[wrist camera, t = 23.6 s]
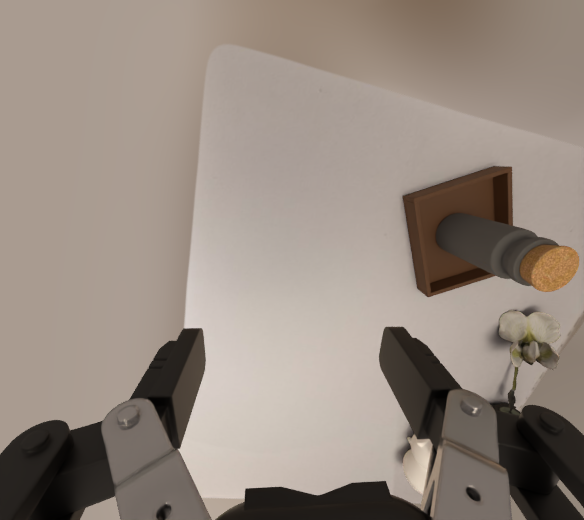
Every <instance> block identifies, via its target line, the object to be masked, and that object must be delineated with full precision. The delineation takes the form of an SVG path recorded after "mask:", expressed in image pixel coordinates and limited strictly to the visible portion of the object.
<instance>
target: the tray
mask: <svg viewBox="0 0 584 520" xmlns="http://www.w3.org/2000/svg"><path fill="white" fill-rule="evenodd" d="M403 200H404V207H405V213H406V219H407V225H408V232H409V238H410V244H411V251H412V257H413V263H414V269H415V276H416V282H417V288H418V289H419V290H420V291H421V292H422V293H423V294H425V295H426V296H427V297H430V296H433V295H437V294H440V293H443V292H446V291H449V290H452V289H455V288H459V287H462V286H465V285H468V284H471V283H474V282H477V281H481V280H484V279H487V278H490V277H493V276H496V275H494V274H491V273H489V272H487V271H485V270H483V269H481V268H479V267H477V266H475V265H473V264H471V263H469V262H467V261H465V260H463V259H461V258H459V257H457V256H455V255H453V254H451V253H449V252H447V251H445V250H443V249H442V248H440V247H439V245H438V244H437V241H436V231H437V228H438V226H439V224H440V223H441V222H442V221H443V220H444V219H445V218H446V217H448V216H449V215H451V214H455V213H464V214H468V215H472V216H476V217H480V218H484V219H488V220H492V221H496V222H500V223H504V224H508V225H511V226H513V209H512V167H499V166H493V167H490V168H487V169H484V170H481V171H478V172H475V173H472V174H469V175H466V176H463V177H460V178H457V179H454V180H451V181H448V182H444V183H441V184H438V185H435V186H432V187H429V188H426V189H423V190H420V191H417V192H414V193H411V194H408V195H405V196H403Z"/></svg>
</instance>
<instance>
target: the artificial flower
mask: <svg viewBox="0 0 584 520" xmlns="http://www.w3.org/2000/svg"><path fill="white" fill-rule="evenodd" d="M509 311H511V312H507V313H504V314H503V315H502V316H501V318H500V320H499V325H500V329H499V335H500V337H501V338H503V339H505V340H508V341H511V342H514V343H513V344H512V346H511V347H510V357H511V360H512V363H513V365H514V366H515V373H514V381H513V388H512V390H510V392H509V393H508V399H509V400H508V401H509V404H507V403H501V404H496V405H495V404H494V405H492V407H493V408H494V410H498V411H502V412H507V413H511V414H515V415H520V414H521V413H520V412H519V411H518V410H516V409H515V408H516V407H515V406H514V403H515V401H516V400H515V396H514V390H516V377H517V374H518V373H517V372H518V367H519V366H520V365H521V363H522V361H523V360H524V361H525V362H527V363H528V364H530V365H532V364H533V362H535V361H537V362H539V363H540V364H542V365H543V366H544V367H546V368H549V369H552V370H553V369H555V368H556V367H557V365H558V360H559V355H558V354H557V352H556V351H555V350H554V348H553V347H551V346H550V345H549V344H550V343H553V342H556V341H557V340H558V339H559V338H560V334H559V328H560V324H559V323H558V322H557V321H556V320H555V319H554V318H553V316H551V315H548V314H545V313H542V312H534V313H532V314H530V315H529V316H528V317H526V316H525V315H524V314H522V313H521V312H520V311H514V310H509Z"/></svg>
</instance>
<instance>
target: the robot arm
mask: <svg viewBox="0 0 584 520" xmlns="http://www.w3.org/2000/svg"><path fill="white" fill-rule="evenodd" d="M205 362H206V358H205V347H204V336H203V330H202V328H191V329H183V330H182V332H181V334H180V335H179V337H178V339H177V341H169V342H167V343H166V344H165V345H164V346H163V347H161V348H160V349H159V351H158V352H157V354H156V356H155V358H154V360H153V361H152V362H151V364H150V366H149V369H147V371H146V372H145V374H144V376H143V377H142V379H141V381H140V383H139V384H138V386H137V388H136V389H135V391H134V393H133V394H132V396H131V398H130V399H129V400H128V401H125V402H123V403H121V404H119V405H118V406H116V407H115V408H113V409H112V410H111V411H110V412H109V413H108V414H107V416H106V417H105V419H104V420H103V421H101V422H98V423H95V424H91V425H88V426H85V427H81V428H78V429H74V430H71V431H70V429H69V427H68V425H67V423H66V422H64V421H60V420H52V421H47V422H43V423H41V424H38V425H36V426H33V427H31V428H30V429H28V430H26V431H25V432H23V433H22V434H20V435H19V436H18V437H16V438H15V439H14V440H13V441H12V442H11V443H10V444H9V445H8V446H7V447H6V448H5V450H4V451H3V452H2V453H1V454H0V520H80V518H81V516H82V514H83V512H84V510H85V508H86V507H88V506H91V505H93V504H96V503H99V502H101V501H104V500H106V499H109V498H111V497H114V496H115V497H116V501H117V506H118V510H119V514H120V519H121V520H212V519H211V517H210V515H209V513H208V511H207V509H206V507H205V505H204V502H203V500H202V498H201V496H200V494H199V492H198V490H197V488H196V486H195V483H194V481H193V479H192V477H191V475H190V473H189V471H188V469H187V467H186V464H185V462H184V460H183V458H182V456H181V454H180V452H179V450H178V449H180V447H181V443H182V440H183V437H184V434H185V431H186V428H187V425H188V422H189V418H190V415H191V412H192V409H193V406H194V403H195V400H196V396H197V393H198V390H199V387H200V384H201V381H202V378H203V374H204V371H205ZM379 362H380V367H381V370H382V372H383V374H384V376H385V378H386V379H387V381H388V383H389V385H390V387H391V389H392V391H393V393H394V395H395V397H396V399H397V401H398V403H399V405H400V407H401V409H402V411H403V413H404V414H405V416H406V418H407V420H408V422H409V424H410V426H411V428H412V430H413V432H414V434H415V436H416V438H417V439H430V441H431V443H432V444H433V445H432V448H431V452H430V458H429V463H428V469H427V475H426V480H425V486H424V491H423V497H422V502H421V506H420V509H419V508H418V507H416V506H415V505H413V504H412V503H410V502H408V501H406V500H404V499H402V498H399V497H396V496H394V495H390V492H389V489H388V486H387V484H386V481H379V482H360V483H351V484H348V485H346V486H343V487H341V488H338V489H335V490H333V491H330V492H328V493H325V494H322V495H312V494H308V493H304V492H300V491H296V490H292V489H288V488H284V487H268V488H250V489H246V490H245V502H243V503H241V504H238V505H236V506H234V507H232V508H230V509H229V510H227V511H226V512H224V513H223V514H222V515H220V516H219V517H218V518H217V519H216V520H512V514H511V502H510V495H511V497H512V498H513V499H514V501H515V503H516V504H517V506H518V507H519V509H520V510H521V512H522V513H523V515H524V516H525V518H526V519H527V520H584V518H583V517H582V515H581V514H580V513H579V512H578V511H577V509H576V508H575V507H574V506H573V504H572V503H571V502H570V501H569V499H568V498H567V497H566V496H565V495H564V493H563V492H562V491H561V490H560V488H559V487H558V486H557V483H558V481H559V479H560V480H561V481H562V482H563V483H564V485H565V486H566V487H567V488H568V489H569V491H570V492H571V493H572V494H573V495H574V496H575V498H576V499H577V500H578V501H579V502H580V503H581V505H582V506H583V508H584V435H583V434H582V433H581V432H580V431H579V430H577V428H575V427H574V426H573V425H572V424H571V423H570V422H569V421H568V420H566V419H565V418H564V417H562V416H560V415H559V414H557V413H555V412H553V411H551V410H549V409H547V408H544V407H540V406H536V405H528V406H525V407H524V408H523V409H522V412H521V414H520V415H515V414H511V413H507V412H502V411H498V410H494V408H493V407H492V406H491V405H490V403H488V402H487V401H486V400H485V399H484V398H482V397H481V396H479V395H477V394H476V393H473V392H471V391H468V390H464V389H462V388H461V387H460V385H459V384H458V383H457V382H456V381H455V379H454V378H453V377H452V376H451V374H450V373H449V372H448V371H447V370H446V368H445V367H444V366H443V365H442V363H441V364H440V361H439V360H438V359H437V357H436V356H434V354H433V353H432V351H431V350H430V349H429V348H428V346H427V345H425V344H424V343H422V342H421V341H420V340H418V339H417V338H412V337H411V336H410V334H409V333H408V332H407V330H406V329H405V328H404V327H385V329H384V331H383V337H382V342H381V348H380V354H379Z"/></svg>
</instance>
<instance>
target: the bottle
mask: <svg viewBox="0 0 584 520" xmlns="http://www.w3.org/2000/svg"><path fill="white" fill-rule="evenodd" d="M436 241H437V244H438V245H439V247H440V248H442V249H443V250H445V251H447V252H449V253H451V254H453V255H455V256H457V257H459V258H461V259H463V260H465V261H467V262H469V263H471V264H473V265H475V266H477V267H479V268H481V269H483V270H485V271H487V272H489V273H491V274H494V275H496V276H498V277H500V278H505V279H510V278H511V279H513V280H514V281H516V282H518V283H520V284H522V285H526V286H531V285H532V286H533V287H534V288H536V289H537V290H539V291H543V292H551V291H555V290H557V289H559V288H561V287H563V286H564V285H566V284H567V283H568V282H569V281H570V280H571V279H572V278H573V276H574V275H575V273H576V271H577V269H578V266H579V256H578V254H577V252H576V251H575V250H574V249H572V248H570V247H567V246H559V245H558V244H557V243H556V242H555V241H553V240H550V239H547V238H542V237H537V235H536V234H535V233H533V232H532V231H529V230H526V229H523V228H519V227H515V226H511V225H508V224H504V223H500V222H496V221H492V220H488V219H484V218H480V217H476V216H472V215H468V214H464V213H455V214H451V215H449V216H448V217H446V218H445V219H444V220H443V221H442V222H441V223H440V224H439V226H438V228H437V231H436Z"/></svg>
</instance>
